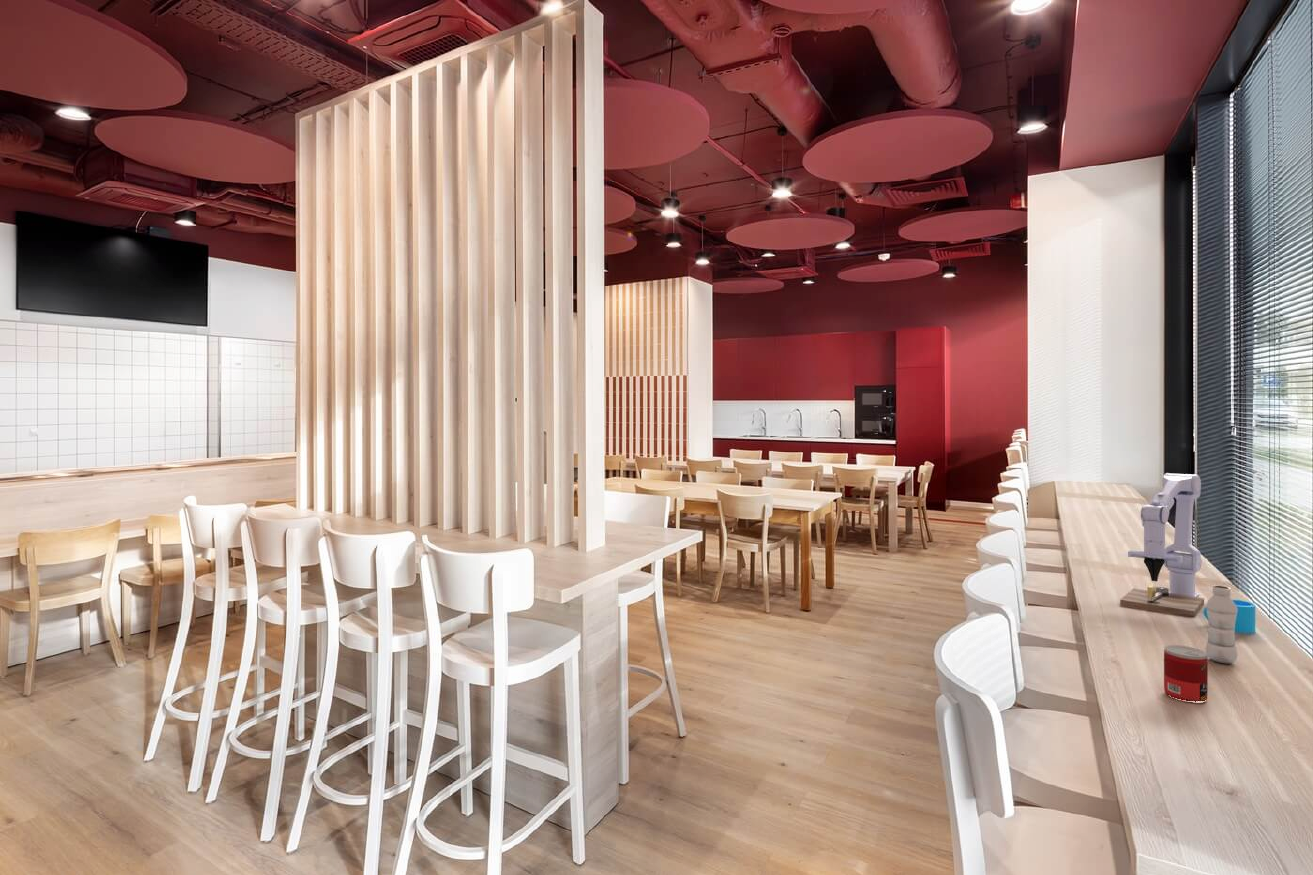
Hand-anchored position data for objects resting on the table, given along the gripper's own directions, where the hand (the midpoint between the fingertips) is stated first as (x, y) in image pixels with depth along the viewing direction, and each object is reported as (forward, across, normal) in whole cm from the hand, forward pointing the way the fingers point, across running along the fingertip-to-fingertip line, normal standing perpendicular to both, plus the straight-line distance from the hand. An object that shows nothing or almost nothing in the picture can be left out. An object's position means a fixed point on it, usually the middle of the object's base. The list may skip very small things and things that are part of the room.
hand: (1154, 580), depth 222 cm
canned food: (+10, +19, -79) cm, 82 cm away
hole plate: (+9, +1, +6) cm, 11 cm away
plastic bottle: (+10, +22, -46) cm, 52 cm away
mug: (+10, +20, -10) cm, 24 cm away
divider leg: (+7, -1, +7) cm, 10 cm away
